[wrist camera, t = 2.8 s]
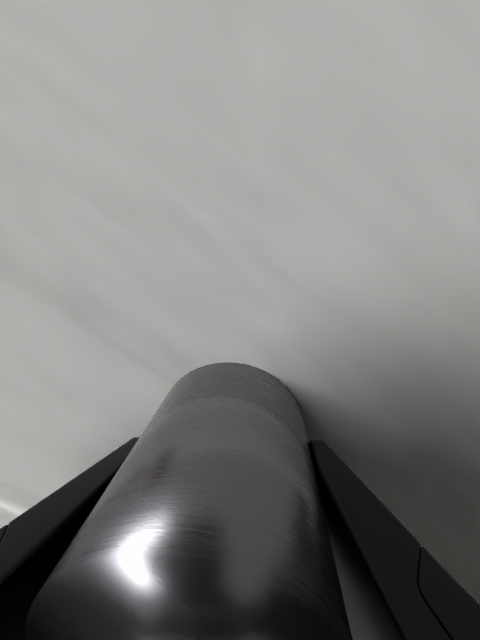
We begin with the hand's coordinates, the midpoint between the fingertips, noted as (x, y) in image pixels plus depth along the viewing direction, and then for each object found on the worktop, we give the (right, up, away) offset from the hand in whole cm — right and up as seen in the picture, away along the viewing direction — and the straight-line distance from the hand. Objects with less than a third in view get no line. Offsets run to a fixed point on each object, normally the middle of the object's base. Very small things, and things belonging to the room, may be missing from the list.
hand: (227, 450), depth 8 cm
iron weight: (0, 0, +1) cm, 1 cm away
